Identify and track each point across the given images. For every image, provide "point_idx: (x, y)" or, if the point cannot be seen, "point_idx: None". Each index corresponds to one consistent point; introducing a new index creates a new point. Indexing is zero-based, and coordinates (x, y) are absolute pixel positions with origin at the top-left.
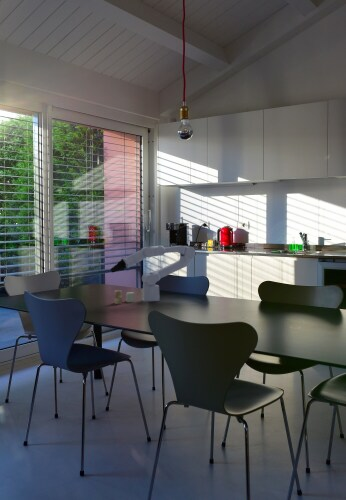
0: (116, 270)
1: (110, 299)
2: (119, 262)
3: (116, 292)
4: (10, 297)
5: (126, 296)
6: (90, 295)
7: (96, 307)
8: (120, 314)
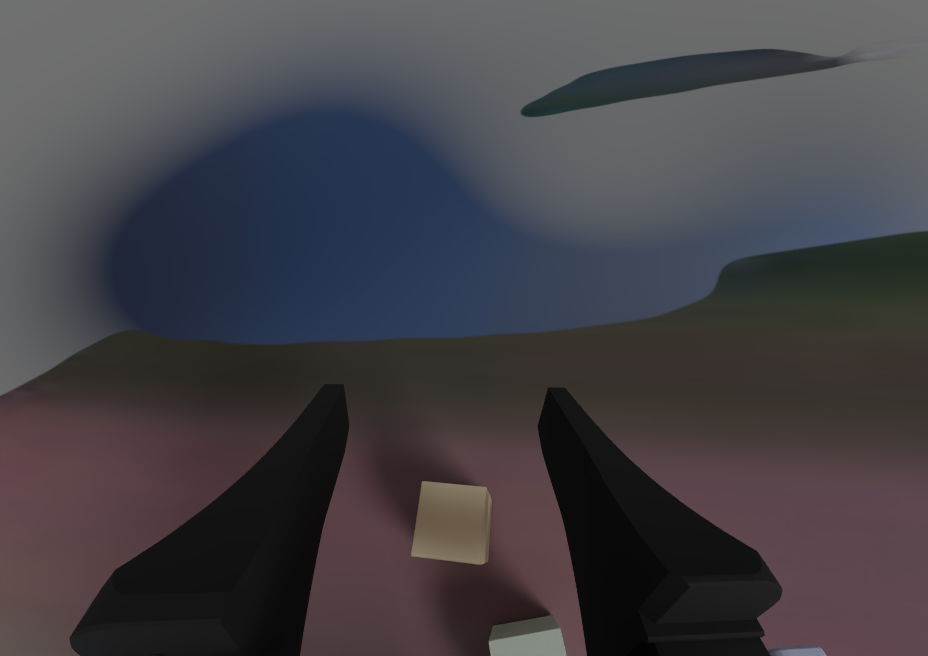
0: (559, 495)
1: (676, 485)
2: (209, 510)
3: (420, 499)
4: (767, 54)
5: (541, 624)
6: (888, 350)
7: (378, 372)
8: (101, 488)
